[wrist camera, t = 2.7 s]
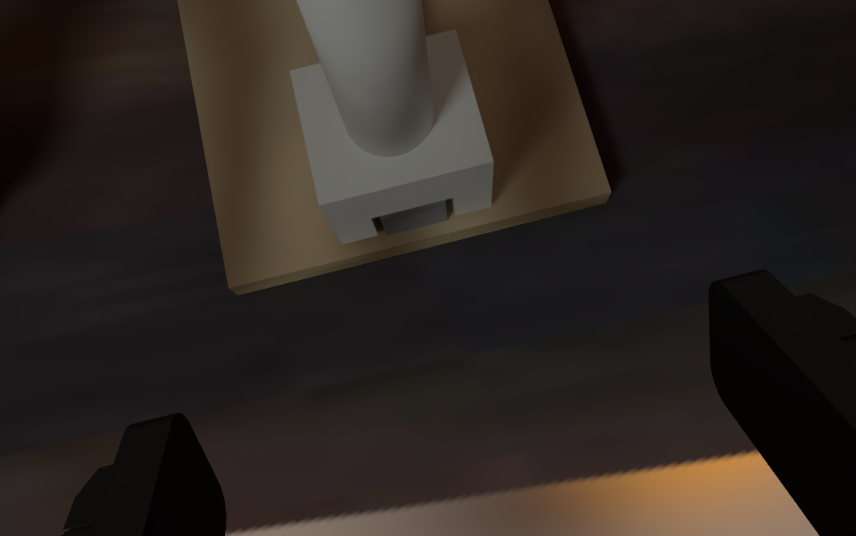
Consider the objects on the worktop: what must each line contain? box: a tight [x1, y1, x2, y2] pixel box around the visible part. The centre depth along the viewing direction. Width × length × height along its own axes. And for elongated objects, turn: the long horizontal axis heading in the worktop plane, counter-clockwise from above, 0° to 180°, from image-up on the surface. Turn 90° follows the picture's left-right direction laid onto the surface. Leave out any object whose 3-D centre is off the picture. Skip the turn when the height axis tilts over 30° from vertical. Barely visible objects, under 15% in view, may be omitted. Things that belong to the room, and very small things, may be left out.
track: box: [178, 0, 611, 295], centre depth 29 cm, size 15×17×6 cm
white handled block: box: [290, 0, 494, 244], centre depth 23 cm, size 6×5×13 cm
